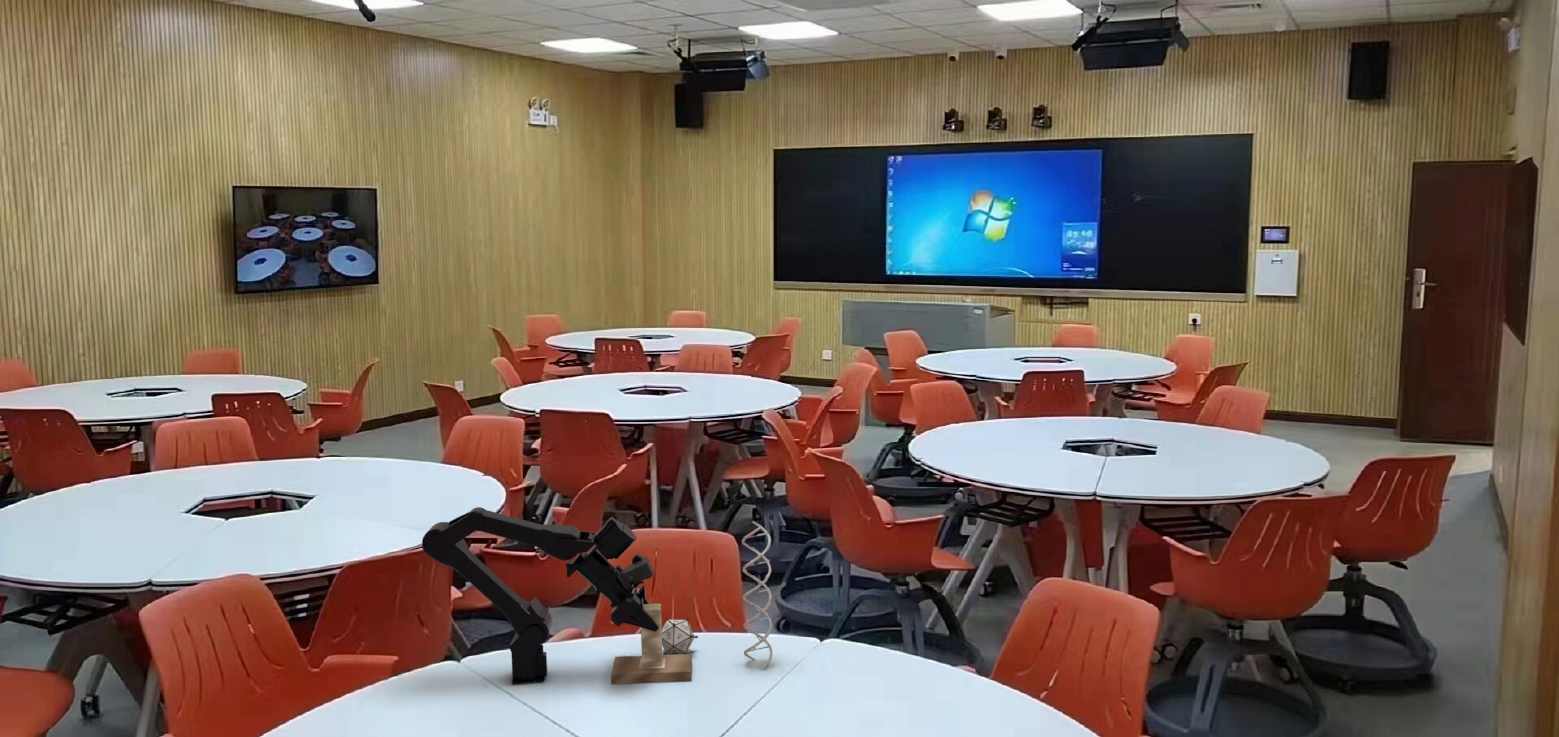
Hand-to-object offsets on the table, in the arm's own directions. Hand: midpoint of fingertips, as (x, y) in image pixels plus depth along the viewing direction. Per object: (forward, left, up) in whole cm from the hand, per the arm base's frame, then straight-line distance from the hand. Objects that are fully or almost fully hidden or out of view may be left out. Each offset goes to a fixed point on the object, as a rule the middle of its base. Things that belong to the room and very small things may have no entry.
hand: (657, 625), depth 238 cm
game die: (+5, +10, -10) cm, 15 cm away
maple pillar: (-1, 0, -8) cm, 8 cm away
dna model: (+21, 0, -10) cm, 23 cm away
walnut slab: (-1, 0, -10) cm, 10 cm away
